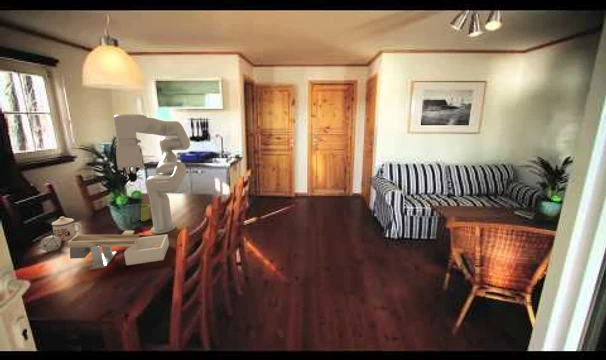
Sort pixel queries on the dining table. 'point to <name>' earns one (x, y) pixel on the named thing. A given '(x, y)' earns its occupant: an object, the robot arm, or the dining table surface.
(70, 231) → the teacup with lid
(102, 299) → the dining table surface
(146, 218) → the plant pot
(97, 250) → the lever stand
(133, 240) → the lever
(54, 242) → the game die
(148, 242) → the bin
